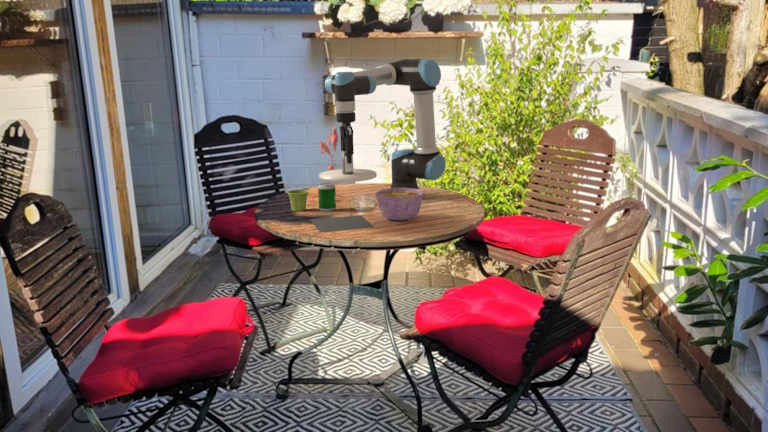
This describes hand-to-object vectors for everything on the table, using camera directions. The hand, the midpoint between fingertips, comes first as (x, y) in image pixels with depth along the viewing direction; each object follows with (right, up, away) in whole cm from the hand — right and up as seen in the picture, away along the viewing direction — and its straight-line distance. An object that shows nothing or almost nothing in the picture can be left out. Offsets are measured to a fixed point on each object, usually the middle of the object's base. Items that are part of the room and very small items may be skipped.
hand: (347, 170), depth 286 cm
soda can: (-10, -16, +29) cm, 35 cm away
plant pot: (-23, -16, +31) cm, 42 cm away
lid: (0, -3, +1) cm, 3 cm away
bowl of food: (+21, -20, +11) cm, 31 cm away
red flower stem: (-8, -10, +54) cm, 56 cm away
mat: (-3, -22, +4) cm, 22 cm away
